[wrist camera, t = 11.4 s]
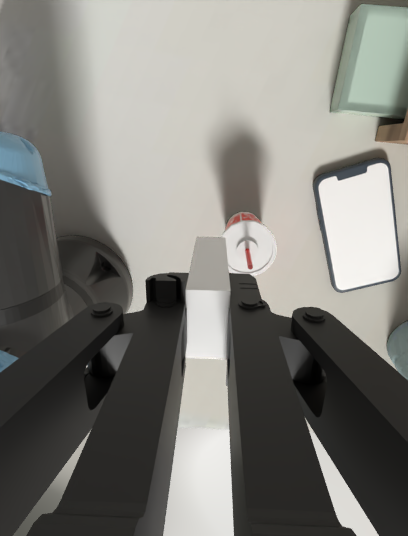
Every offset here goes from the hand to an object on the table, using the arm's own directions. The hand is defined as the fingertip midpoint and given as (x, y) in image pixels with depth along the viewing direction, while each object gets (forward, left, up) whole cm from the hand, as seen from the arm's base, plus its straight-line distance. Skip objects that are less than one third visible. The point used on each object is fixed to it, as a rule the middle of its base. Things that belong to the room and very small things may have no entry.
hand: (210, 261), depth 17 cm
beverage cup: (+3, -4, -25) cm, 26 cm away
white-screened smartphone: (+18, -3, -26) cm, 31 cm away
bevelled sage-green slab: (+18, +15, -25) cm, 34 cm away
